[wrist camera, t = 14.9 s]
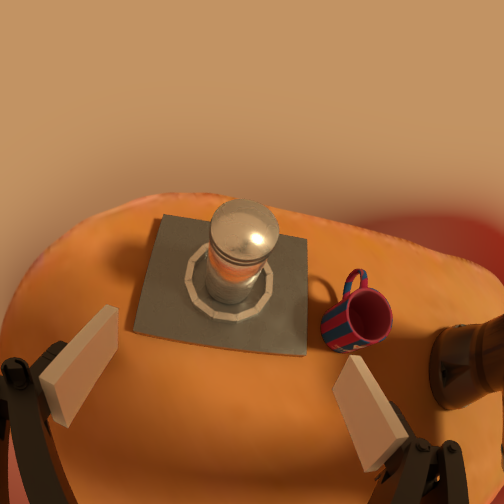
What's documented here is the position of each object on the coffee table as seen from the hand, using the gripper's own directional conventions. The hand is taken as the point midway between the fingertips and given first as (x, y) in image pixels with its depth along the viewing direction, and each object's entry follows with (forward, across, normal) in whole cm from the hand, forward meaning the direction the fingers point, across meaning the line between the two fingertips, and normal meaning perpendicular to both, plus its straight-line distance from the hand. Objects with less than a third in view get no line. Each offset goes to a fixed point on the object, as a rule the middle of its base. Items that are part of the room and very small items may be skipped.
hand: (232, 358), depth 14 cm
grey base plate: (+20, 0, -4) cm, 20 cm away
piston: (+19, 0, -3) cm, 19 cm away
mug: (+19, +16, -5) cm, 25 cm away
